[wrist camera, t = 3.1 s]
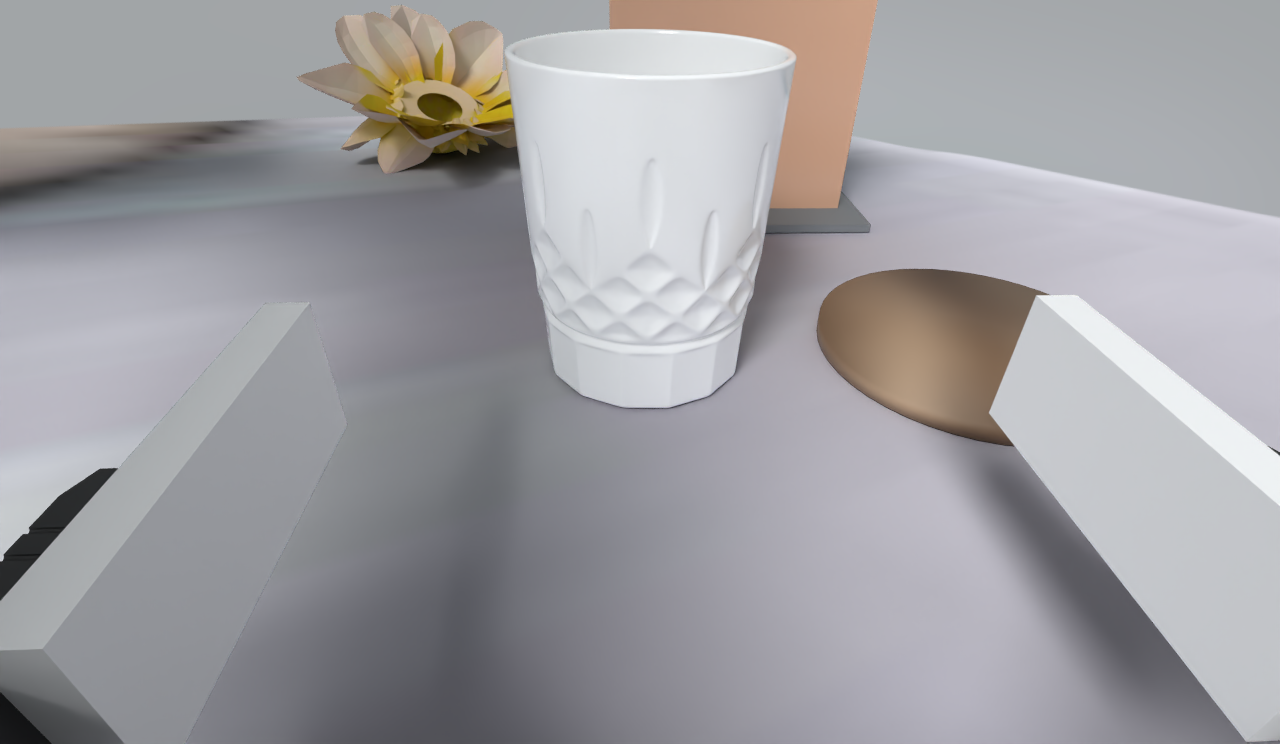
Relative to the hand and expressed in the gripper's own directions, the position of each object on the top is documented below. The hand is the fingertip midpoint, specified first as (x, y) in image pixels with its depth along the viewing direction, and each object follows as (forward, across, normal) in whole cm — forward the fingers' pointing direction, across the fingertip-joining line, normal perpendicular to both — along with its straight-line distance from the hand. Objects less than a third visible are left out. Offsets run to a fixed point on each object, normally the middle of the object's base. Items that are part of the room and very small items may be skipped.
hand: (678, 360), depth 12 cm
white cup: (+10, 0, -6) cm, 11 cm away
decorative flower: (+33, -12, -6) cm, 36 cm away
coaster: (+10, +12, -6) cm, 16 cm away
